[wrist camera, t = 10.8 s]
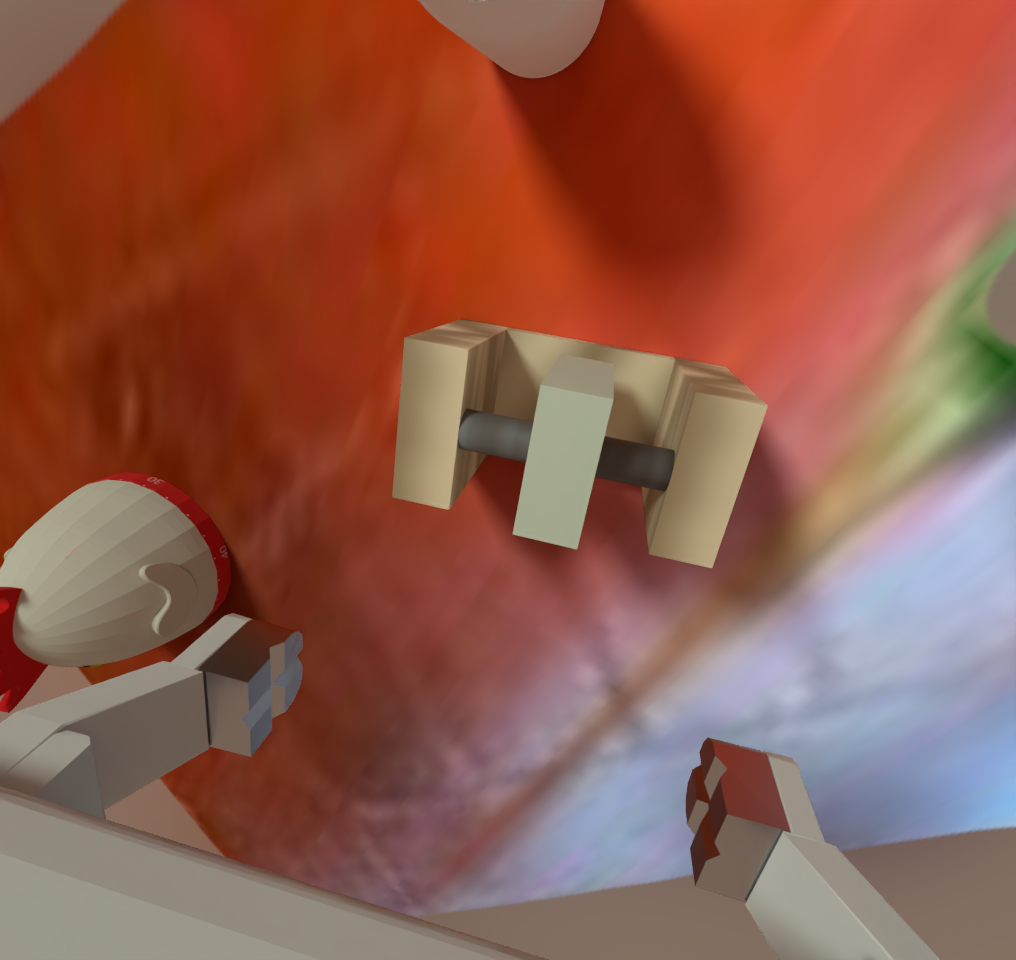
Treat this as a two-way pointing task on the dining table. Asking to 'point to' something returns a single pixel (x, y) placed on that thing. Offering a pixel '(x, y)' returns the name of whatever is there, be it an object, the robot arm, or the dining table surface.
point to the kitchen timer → (107, 579)
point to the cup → (522, 30)
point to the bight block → (564, 450)
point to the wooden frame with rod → (628, 439)
